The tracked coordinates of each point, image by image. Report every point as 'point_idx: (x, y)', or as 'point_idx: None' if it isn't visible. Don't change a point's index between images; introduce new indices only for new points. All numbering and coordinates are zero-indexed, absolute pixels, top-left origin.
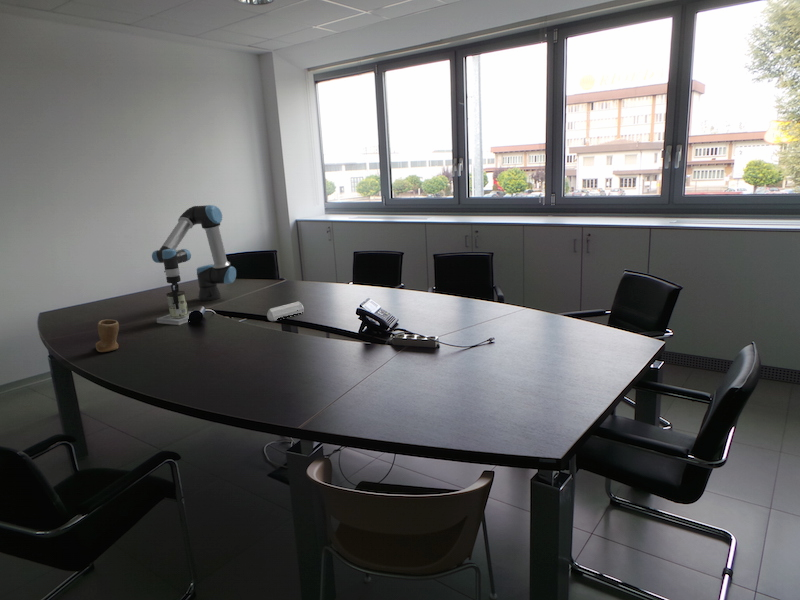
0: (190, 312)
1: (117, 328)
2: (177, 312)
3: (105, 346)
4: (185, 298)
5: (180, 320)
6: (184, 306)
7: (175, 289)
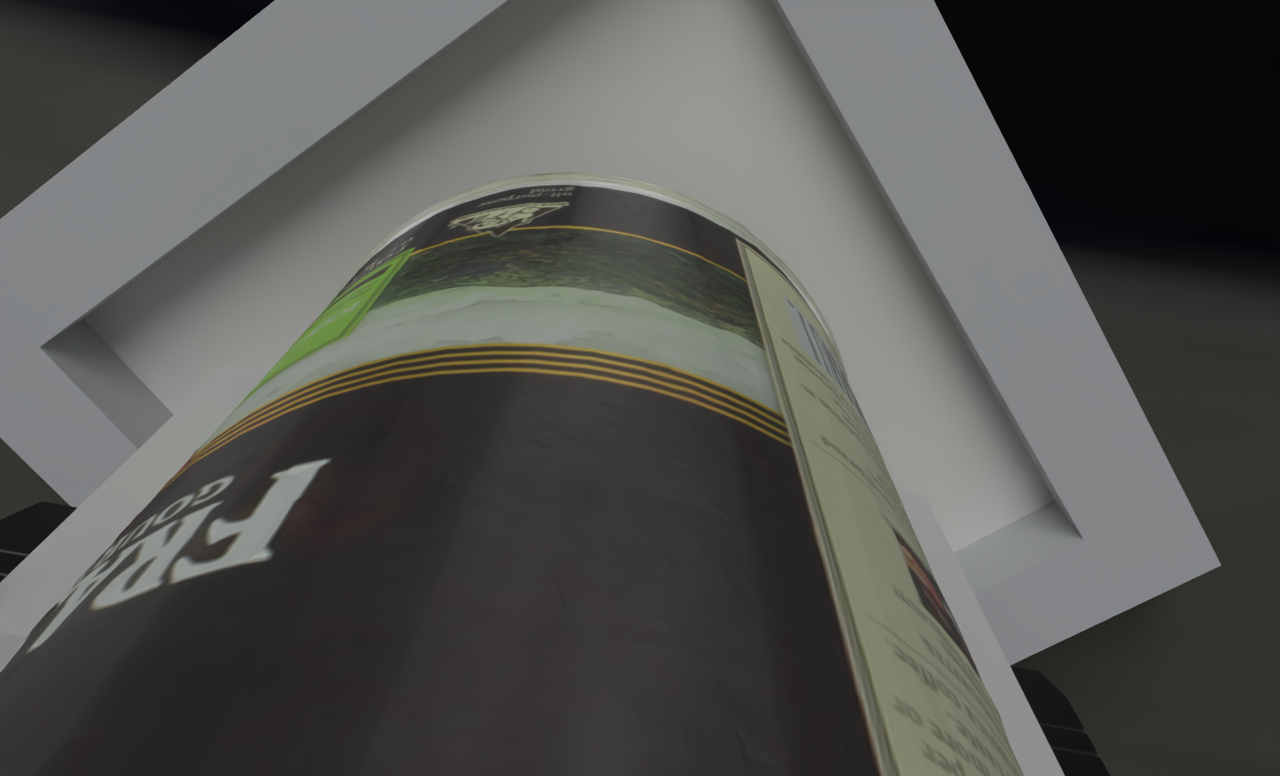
0: (387, 71)
1: None
2: None
3: None
4: (734, 525)
5: (1189, 506)
6: (872, 447)
7: None
